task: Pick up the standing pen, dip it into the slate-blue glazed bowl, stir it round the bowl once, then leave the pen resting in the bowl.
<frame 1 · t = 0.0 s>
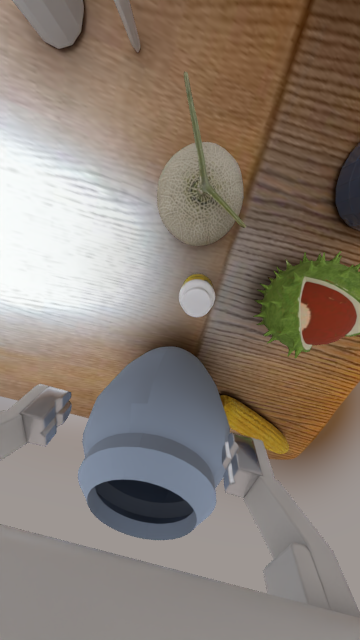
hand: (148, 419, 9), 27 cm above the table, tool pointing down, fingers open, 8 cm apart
chestnut: (287, 293, 32), on the table
fruit: (201, 210, 29), on the table
pen: (138, 49, 23), on the table
supplement bottle: (197, 287, 34), on the table
food: (250, 414, 44), on the table
water bottle: (54, 17, 23), on the table
vase: (174, 363, 41), on the table
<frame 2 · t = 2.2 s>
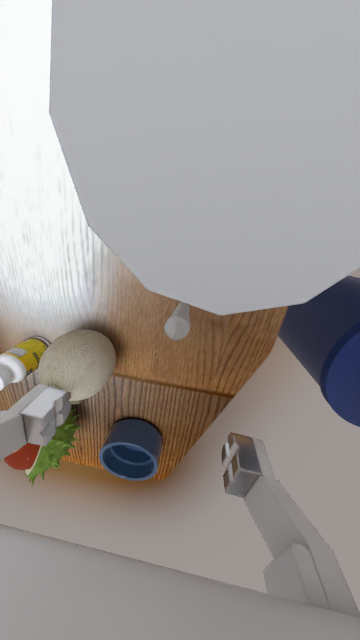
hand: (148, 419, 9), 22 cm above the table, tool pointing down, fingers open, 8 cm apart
chestnut: (64, 405, 43), on the table
fruit: (98, 346, 36), on the table
pen: (185, 297, 30), on the table
supplement bottle: (42, 347, 37), on the table
water bottle: (203, 223, 26), on the table
bowl: (137, 435, 44), on the table
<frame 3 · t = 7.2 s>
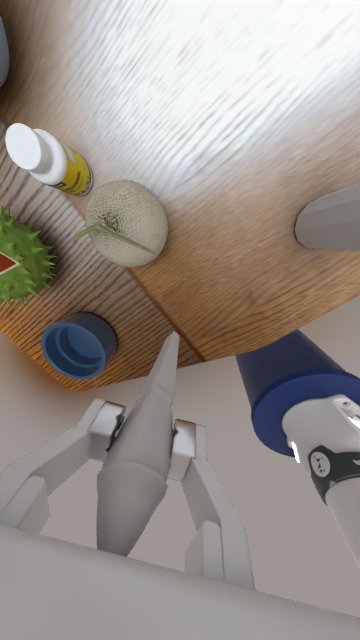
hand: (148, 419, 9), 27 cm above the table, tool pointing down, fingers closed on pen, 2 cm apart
chestnut: (39, 255, 35), on the table
fruit: (140, 231, 31), on the table
pen: (174, 334, 18), point 18 cm above the table, touching gripper
supplement bottle: (78, 176, 29), on the table
water bottle: (320, 217, 28), on the table
bowl: (90, 338, 40), on the table
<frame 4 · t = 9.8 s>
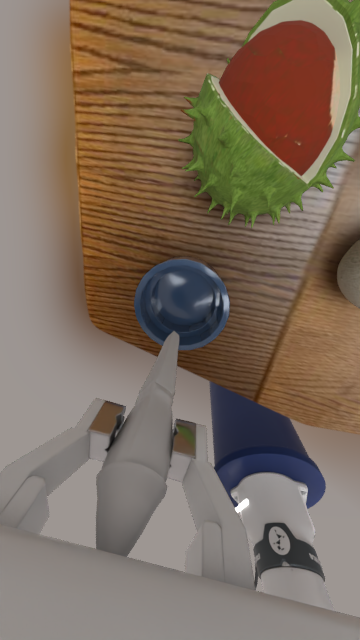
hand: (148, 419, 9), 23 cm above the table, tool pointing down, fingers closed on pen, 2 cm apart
chestnut: (245, 166, 23), on the table
fruit: (357, 263, 26), on the table
pen: (174, 334, 18), point 13 cm above the table, touching gripper
bowl: (184, 297, 30), on the table
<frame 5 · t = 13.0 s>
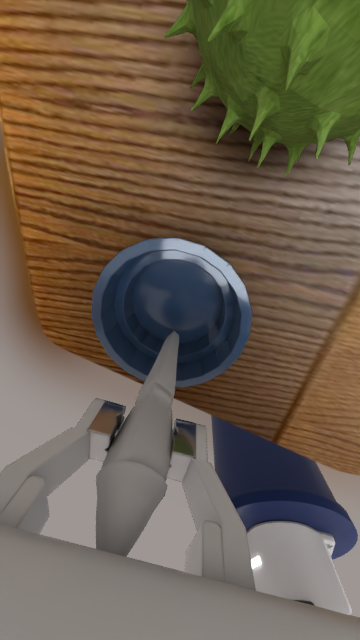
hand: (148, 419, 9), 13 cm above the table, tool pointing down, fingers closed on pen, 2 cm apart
chestnut: (281, 75, 13), on the table
pen: (174, 334, 18), point 3 cm above the table, touching gripper
bowl: (177, 302, 20), on the table
when the fingers open (10 cm above the table, at t = 15.5 s): pen stays where it is, resting on bowl.
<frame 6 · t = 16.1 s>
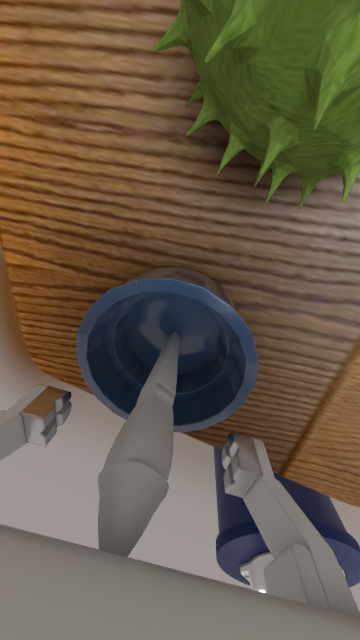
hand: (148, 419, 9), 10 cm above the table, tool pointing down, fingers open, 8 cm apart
chestnut: (291, 90, 11), on the table
pen: (174, 334, 18), point 1 cm above the table, touching bowl
bowl: (174, 331, 18), on the table
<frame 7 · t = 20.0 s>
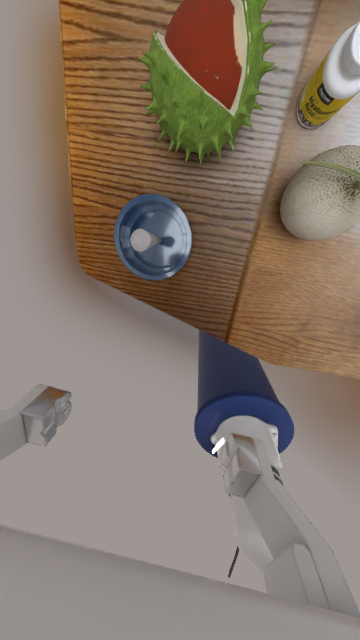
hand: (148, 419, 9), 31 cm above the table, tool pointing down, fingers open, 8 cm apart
chestnut: (203, 120, 28), on the table
fruit: (300, 205, 31), on the table
pen: (159, 241, 34), point 1 cm above the table, touching bowl
supplement bottle: (315, 106, 26), on the table
bowl: (159, 241, 35), on the table
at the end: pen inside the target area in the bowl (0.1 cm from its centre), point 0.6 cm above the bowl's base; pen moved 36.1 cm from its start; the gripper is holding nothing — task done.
